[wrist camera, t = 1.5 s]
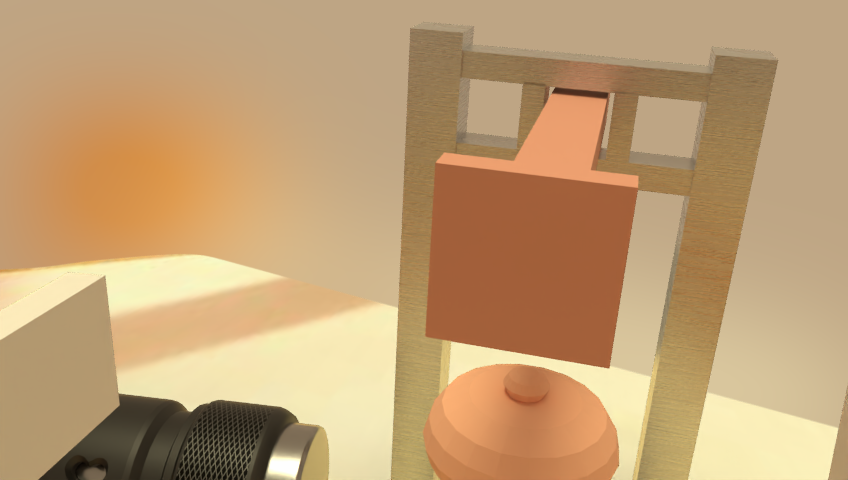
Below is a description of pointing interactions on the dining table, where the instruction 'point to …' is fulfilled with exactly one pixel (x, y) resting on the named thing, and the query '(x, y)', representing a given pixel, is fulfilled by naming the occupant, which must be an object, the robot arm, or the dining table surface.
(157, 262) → the dining table surface
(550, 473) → the pepper shaker
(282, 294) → the dining table surface
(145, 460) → the muzzle brake
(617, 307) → the bar
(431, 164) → the frame
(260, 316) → the dining table surface
